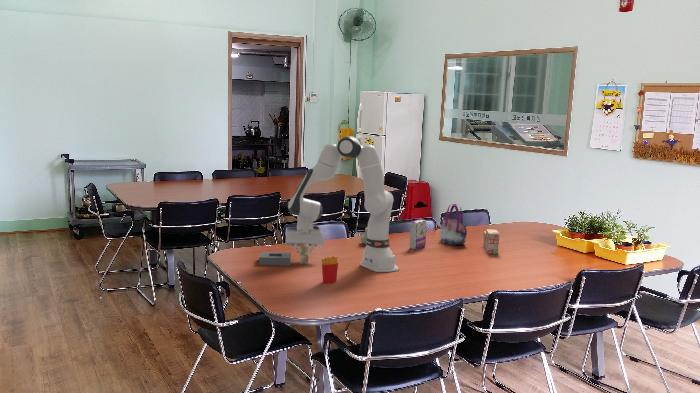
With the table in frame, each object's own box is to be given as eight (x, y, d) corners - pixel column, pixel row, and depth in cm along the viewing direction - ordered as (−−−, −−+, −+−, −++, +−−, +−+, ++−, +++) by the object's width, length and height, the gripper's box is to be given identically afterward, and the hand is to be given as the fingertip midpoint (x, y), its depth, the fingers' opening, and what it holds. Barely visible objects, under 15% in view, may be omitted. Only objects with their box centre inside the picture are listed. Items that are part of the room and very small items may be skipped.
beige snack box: (482, 245, 369) (484, 226, 367) (493, 246, 368) (494, 226, 366) (487, 253, 348) (488, 233, 346) (498, 254, 347) (499, 233, 345)
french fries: (334, 279, 282) (335, 255, 281) (338, 281, 279) (339, 257, 277) (319, 281, 278) (320, 257, 276) (323, 284, 274) (324, 259, 273)
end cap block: (291, 259, 316) (291, 252, 315) (290, 265, 304) (290, 258, 303) (260, 259, 315) (261, 251, 314) (259, 265, 303) (259, 257, 302)
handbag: (434, 240, 376) (436, 202, 373) (445, 239, 382) (448, 201, 379) (459, 247, 359) (462, 207, 356) (470, 245, 365) (473, 206, 362)
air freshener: (358, 244, 359) (358, 228, 357) (364, 241, 366) (365, 225, 365) (374, 246, 354) (375, 230, 352) (380, 244, 361) (381, 228, 360)
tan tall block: (308, 262, 312) (308, 243, 311) (308, 263, 309) (308, 245, 307) (299, 262, 312) (300, 243, 310) (299, 263, 308) (300, 245, 307)
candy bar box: (418, 245, 361) (419, 219, 359) (425, 246, 358) (427, 220, 356) (408, 248, 352) (410, 221, 350) (416, 249, 349) (417, 222, 347)
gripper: (285, 226, 314) (284, 248, 306) (323, 227, 315) (323, 249, 307) (285, 232, 319) (284, 255, 311) (323, 233, 320) (323, 255, 312)
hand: (304, 252), depth 309 cm, fingers open, 5 cm apart
